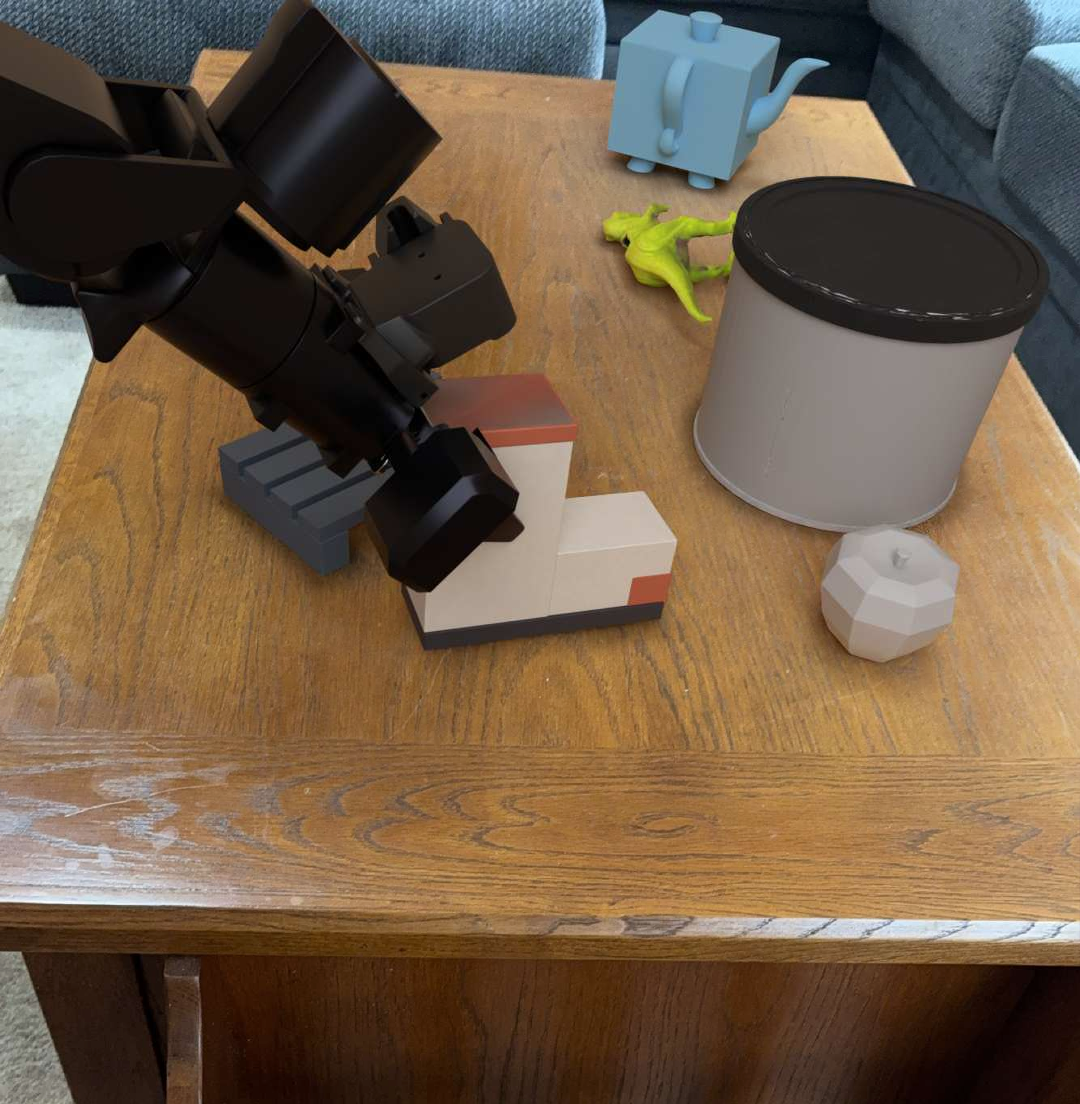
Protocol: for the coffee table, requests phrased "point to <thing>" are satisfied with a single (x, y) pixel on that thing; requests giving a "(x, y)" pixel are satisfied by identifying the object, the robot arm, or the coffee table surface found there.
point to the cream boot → (542, 531)
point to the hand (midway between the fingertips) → (497, 501)
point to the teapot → (697, 94)
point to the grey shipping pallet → (298, 493)
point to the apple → (887, 591)
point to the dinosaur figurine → (668, 250)
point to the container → (860, 348)
